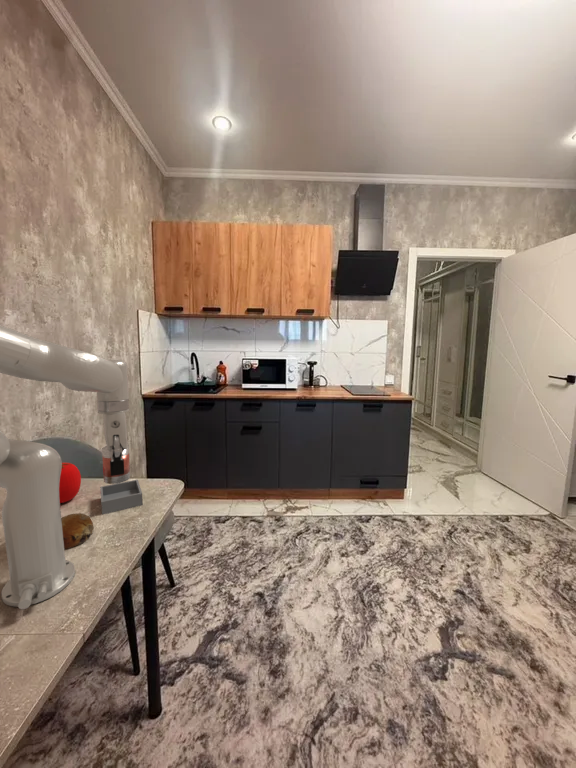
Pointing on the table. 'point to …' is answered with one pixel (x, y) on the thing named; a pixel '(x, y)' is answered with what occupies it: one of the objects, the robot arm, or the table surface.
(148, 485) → the table surface
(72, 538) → the bread roll
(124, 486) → the crate
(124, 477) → the red drink can
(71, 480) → the tomato
